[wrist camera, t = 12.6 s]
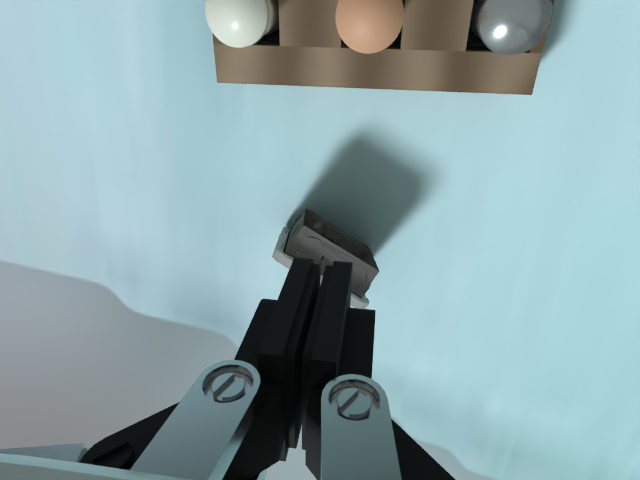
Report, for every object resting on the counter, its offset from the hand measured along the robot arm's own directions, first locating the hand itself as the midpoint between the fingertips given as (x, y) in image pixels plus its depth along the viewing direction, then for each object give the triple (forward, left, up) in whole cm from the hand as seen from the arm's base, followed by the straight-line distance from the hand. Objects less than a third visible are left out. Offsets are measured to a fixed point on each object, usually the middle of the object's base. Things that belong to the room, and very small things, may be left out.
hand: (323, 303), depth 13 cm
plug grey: (-9, -7, -29) cm, 31 cm away
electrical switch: (+3, +13, -29) cm, 32 cm away
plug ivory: (+9, -7, -29) cm, 31 cm away
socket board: (0, -7, -29) cm, 30 cm away
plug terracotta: (0, -7, -27) cm, 28 cm away
